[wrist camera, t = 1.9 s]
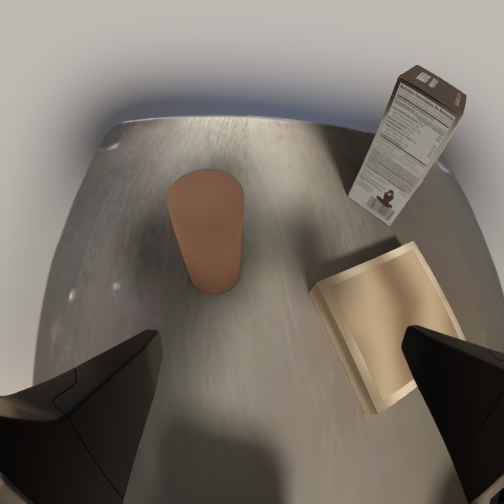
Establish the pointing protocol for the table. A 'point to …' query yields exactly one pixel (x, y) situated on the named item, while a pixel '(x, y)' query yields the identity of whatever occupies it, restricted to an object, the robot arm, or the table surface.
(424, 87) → the coffee box
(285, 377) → the table surface
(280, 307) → the table surface
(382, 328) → the square tray
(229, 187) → the peach rounded peg
